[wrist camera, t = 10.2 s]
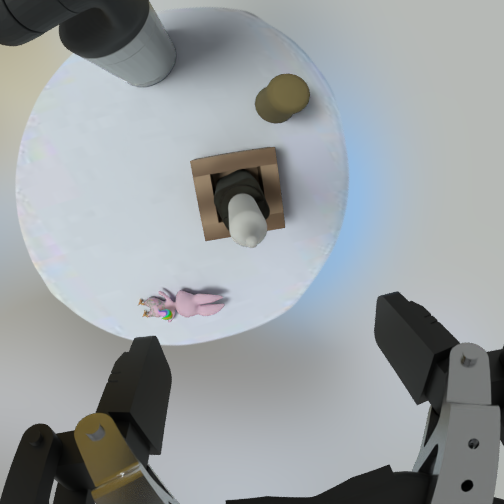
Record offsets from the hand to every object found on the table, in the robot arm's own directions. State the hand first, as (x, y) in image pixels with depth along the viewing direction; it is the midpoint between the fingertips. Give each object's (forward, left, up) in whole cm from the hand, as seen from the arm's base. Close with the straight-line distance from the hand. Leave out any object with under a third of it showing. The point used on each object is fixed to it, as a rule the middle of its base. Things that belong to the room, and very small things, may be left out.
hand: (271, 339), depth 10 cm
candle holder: (0, 0, -36) cm, 36 cm away
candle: (0, 0, -35) cm, 35 cm away
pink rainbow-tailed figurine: (+17, -12, -36) cm, 42 cm away
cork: (-12, +8, -36) cm, 39 cm away
